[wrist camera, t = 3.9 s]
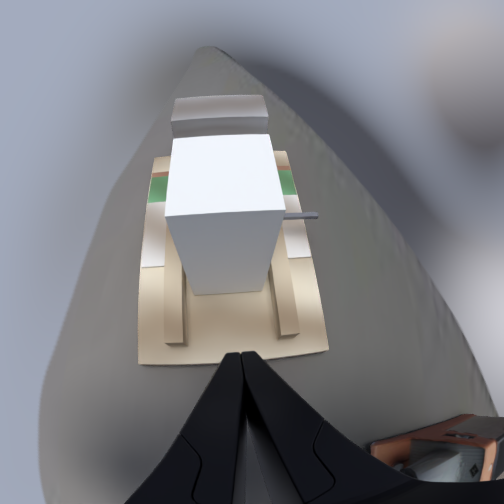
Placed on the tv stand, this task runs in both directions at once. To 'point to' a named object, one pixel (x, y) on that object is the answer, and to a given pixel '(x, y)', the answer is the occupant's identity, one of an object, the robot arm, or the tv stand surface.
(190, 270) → the white rectangular block
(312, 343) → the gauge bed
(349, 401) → the tv stand surface
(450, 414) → the tv stand surface
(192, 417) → the robot arm
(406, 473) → the electronic device
